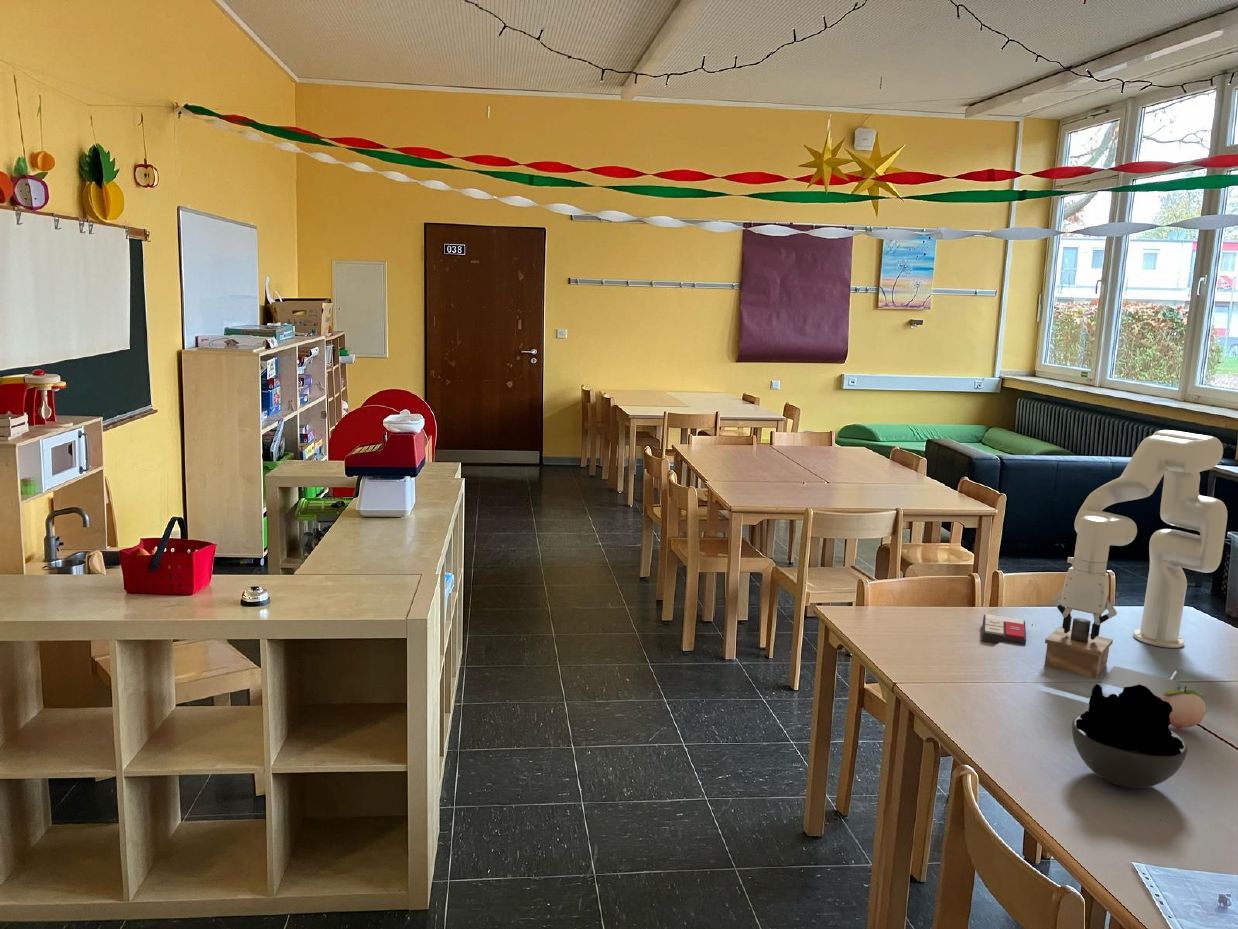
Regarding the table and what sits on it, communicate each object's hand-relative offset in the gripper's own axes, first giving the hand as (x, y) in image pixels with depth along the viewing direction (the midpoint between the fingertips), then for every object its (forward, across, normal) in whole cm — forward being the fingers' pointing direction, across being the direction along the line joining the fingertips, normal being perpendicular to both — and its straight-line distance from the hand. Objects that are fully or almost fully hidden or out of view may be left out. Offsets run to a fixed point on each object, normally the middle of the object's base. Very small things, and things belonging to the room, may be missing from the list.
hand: (1079, 634), depth 252 cm
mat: (+9, +15, 0) cm, 18 cm away
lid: (+3, 0, 0) cm, 3 cm away
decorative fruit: (+10, +27, -22) cm, 36 cm away
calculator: (+10, -22, +12) cm, 27 cm away
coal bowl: (+10, +22, -58) cm, 63 cm away
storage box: (+9, 0, 0) cm, 9 cm away
